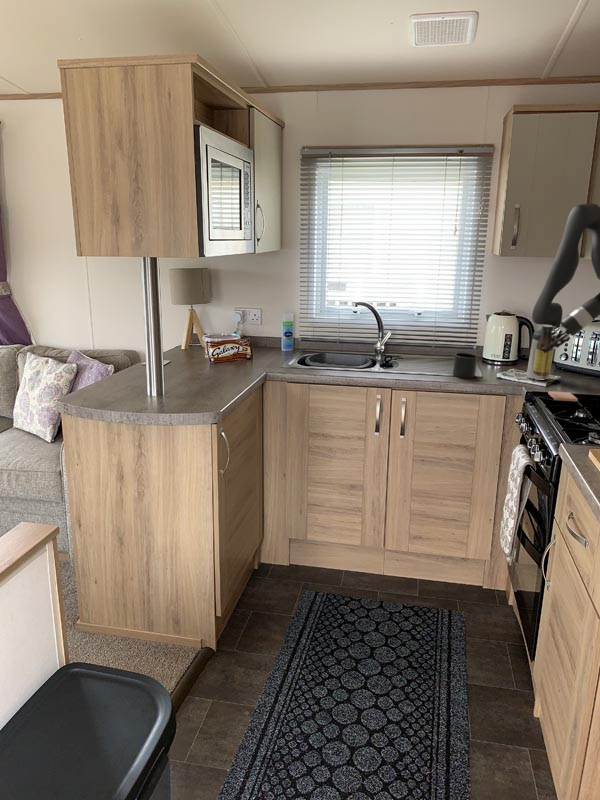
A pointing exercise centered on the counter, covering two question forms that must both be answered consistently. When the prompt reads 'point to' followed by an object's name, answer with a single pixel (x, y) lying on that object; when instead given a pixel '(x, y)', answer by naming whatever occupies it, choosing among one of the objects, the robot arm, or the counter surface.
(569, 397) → the coaster
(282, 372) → the counter surface
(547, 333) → the sauce bottle
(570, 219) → the robot arm
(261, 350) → the counter surface
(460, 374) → the mug
